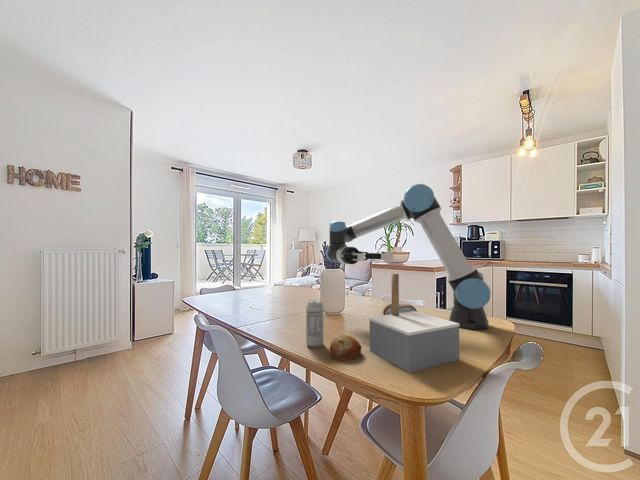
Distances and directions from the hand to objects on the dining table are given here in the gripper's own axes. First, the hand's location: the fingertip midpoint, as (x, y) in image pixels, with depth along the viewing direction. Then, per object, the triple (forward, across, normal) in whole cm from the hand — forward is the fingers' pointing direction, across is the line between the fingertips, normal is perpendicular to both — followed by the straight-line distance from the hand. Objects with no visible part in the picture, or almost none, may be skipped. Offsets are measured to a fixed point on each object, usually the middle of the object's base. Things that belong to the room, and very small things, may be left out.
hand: (378, 257), depth 105 cm
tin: (-12, -22, -30) cm, 40 cm away
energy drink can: (-4, +24, -31) cm, 39 cm away
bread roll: (+8, +19, -31) cm, 37 cm away
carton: (+18, 0, -30) cm, 35 cm away
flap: (+17, 0, -20) cm, 26 cm away
